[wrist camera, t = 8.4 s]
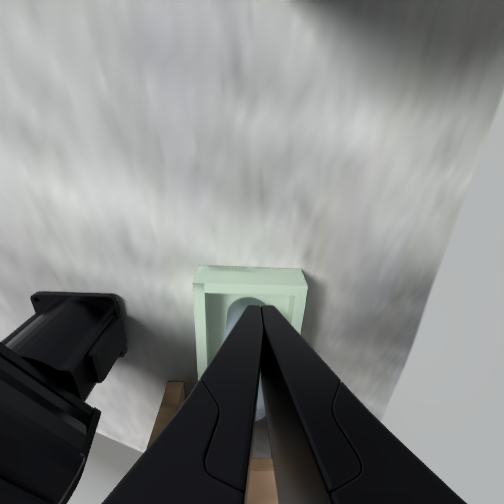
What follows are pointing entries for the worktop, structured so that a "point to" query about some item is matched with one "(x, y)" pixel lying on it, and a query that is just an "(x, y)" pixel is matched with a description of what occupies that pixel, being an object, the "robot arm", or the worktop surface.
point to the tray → (235, 287)
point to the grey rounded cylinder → (238, 311)
